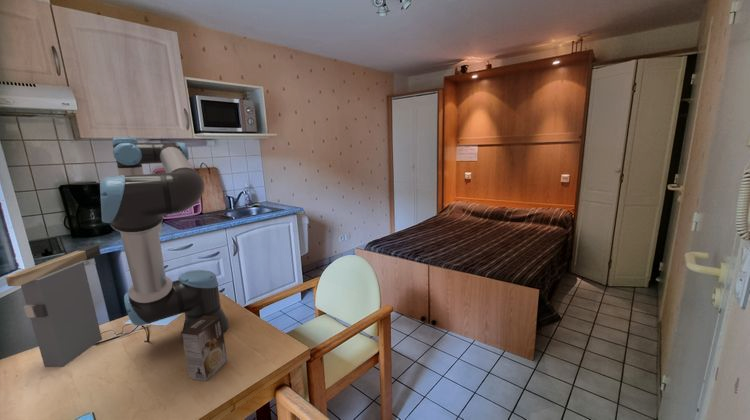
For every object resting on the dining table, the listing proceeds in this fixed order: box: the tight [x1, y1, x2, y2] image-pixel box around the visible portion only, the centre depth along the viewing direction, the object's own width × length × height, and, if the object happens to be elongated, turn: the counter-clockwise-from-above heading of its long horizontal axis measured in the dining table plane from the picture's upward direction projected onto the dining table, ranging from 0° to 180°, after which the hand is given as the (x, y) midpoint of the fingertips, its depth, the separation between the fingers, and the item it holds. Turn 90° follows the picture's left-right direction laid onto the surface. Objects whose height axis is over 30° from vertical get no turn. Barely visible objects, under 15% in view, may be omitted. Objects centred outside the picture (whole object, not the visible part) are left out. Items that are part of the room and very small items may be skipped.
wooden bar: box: [5, 244, 101, 287], centre depth 99 cm, size 3×26×3 cm, turn 179°
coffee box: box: [180, 315, 228, 382], centre depth 93 cm, size 9×6×16 cm
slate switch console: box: [20, 261, 103, 368], centre depth 100 cm, size 6×15×30 cm, turn 179°
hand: (142, 231), depth 123 cm, fingers open, 13 cm apart
